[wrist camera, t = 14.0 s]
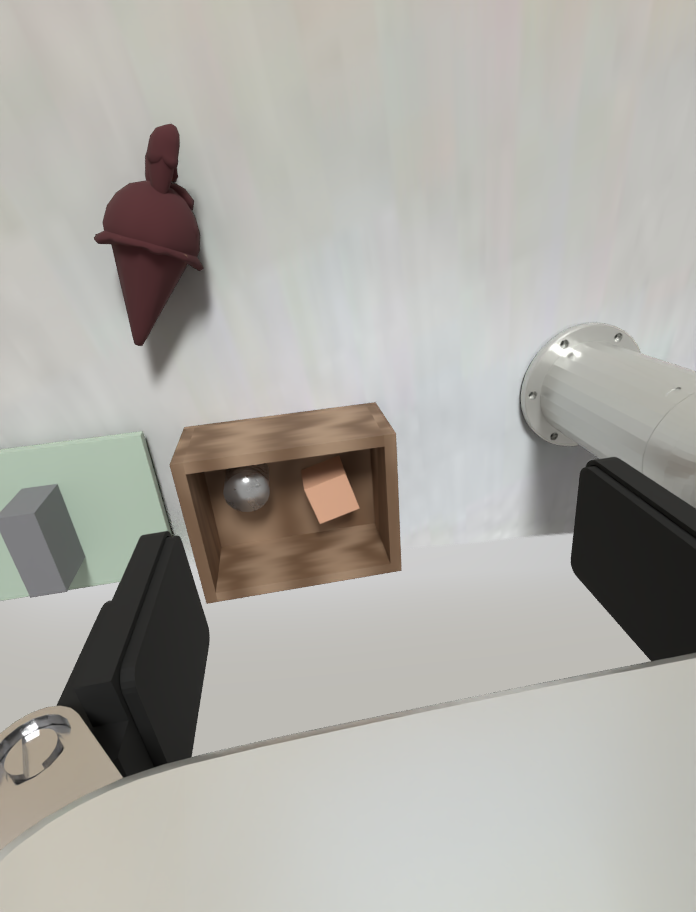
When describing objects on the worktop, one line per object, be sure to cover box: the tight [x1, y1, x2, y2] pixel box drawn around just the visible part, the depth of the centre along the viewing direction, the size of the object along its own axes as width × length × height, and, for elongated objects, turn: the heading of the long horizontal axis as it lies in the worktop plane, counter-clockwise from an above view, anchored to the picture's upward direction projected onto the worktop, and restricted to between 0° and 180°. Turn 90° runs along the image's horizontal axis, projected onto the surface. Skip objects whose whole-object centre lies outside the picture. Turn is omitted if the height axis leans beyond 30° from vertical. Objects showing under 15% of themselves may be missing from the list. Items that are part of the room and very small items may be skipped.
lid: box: [0, 431, 173, 601], centre depth 43 cm, size 19×15×7 cm
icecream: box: [94, 124, 203, 346], centre depth 36 cm, size 7×7×15 cm
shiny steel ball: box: [223, 463, 270, 512], centre depth 45 cm, size 4×4×4 cm
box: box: [170, 402, 401, 604], centre depth 45 cm, size 18×14×8 cm
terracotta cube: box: [301, 455, 359, 524], centre depth 47 cm, size 4×4×4 cm
